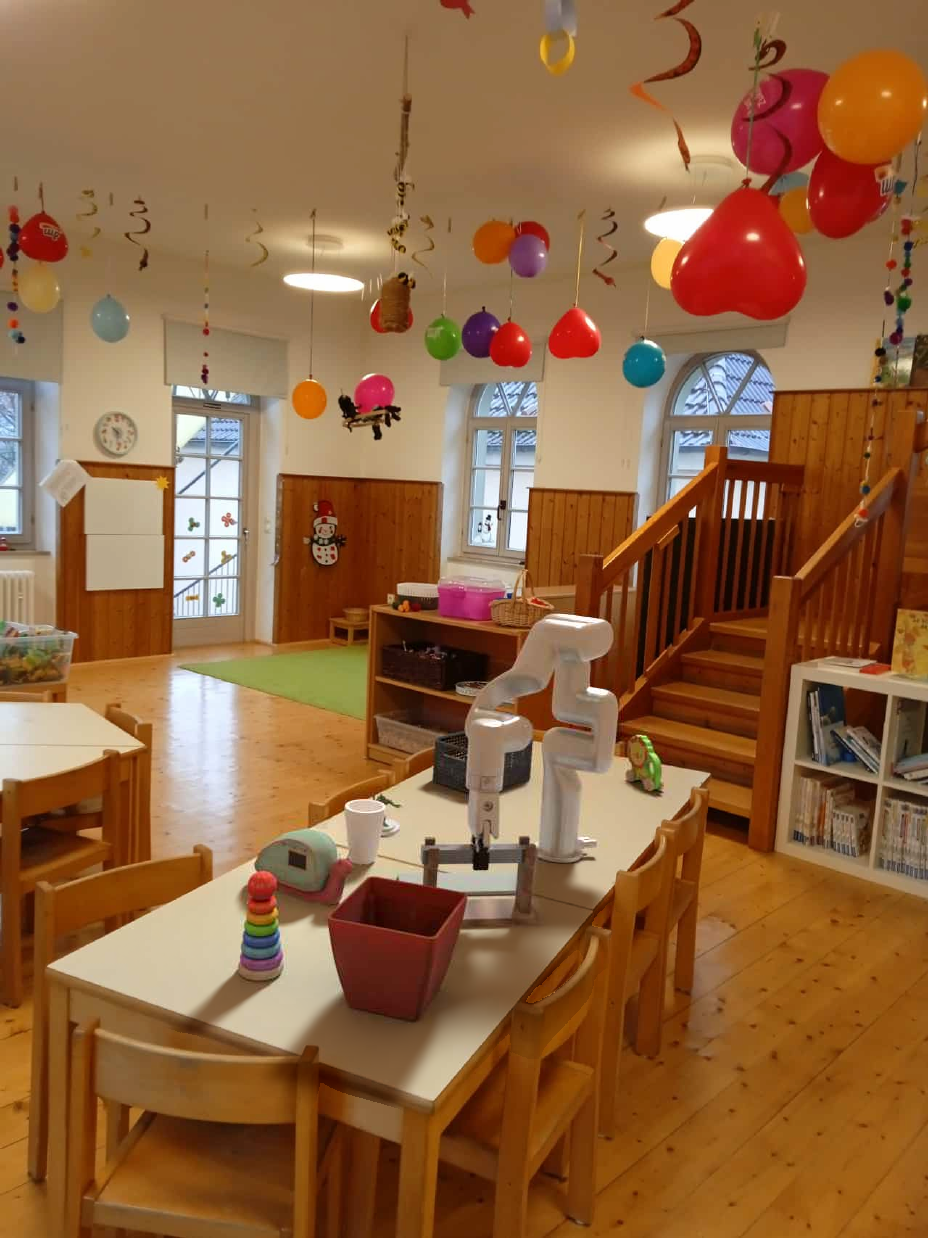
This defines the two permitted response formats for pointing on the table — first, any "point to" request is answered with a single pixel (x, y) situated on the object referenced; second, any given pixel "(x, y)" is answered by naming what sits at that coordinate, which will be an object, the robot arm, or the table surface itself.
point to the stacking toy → (261, 931)
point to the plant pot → (395, 944)
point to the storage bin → (456, 768)
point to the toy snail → (306, 866)
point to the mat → (471, 882)
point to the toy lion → (644, 763)
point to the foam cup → (364, 829)
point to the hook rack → (494, 909)
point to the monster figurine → (388, 824)
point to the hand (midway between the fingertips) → (478, 865)
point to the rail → (466, 851)
